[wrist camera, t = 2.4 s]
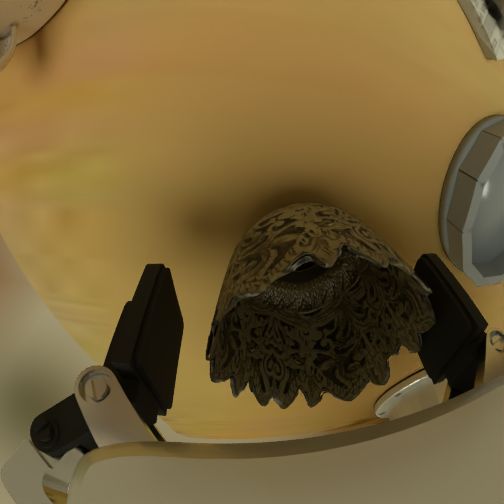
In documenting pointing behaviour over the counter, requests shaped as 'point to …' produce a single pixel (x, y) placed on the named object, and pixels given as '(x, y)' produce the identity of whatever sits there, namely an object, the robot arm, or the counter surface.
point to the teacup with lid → (22, 22)
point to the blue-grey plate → (476, 204)
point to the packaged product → (487, 25)
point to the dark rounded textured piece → (314, 308)
